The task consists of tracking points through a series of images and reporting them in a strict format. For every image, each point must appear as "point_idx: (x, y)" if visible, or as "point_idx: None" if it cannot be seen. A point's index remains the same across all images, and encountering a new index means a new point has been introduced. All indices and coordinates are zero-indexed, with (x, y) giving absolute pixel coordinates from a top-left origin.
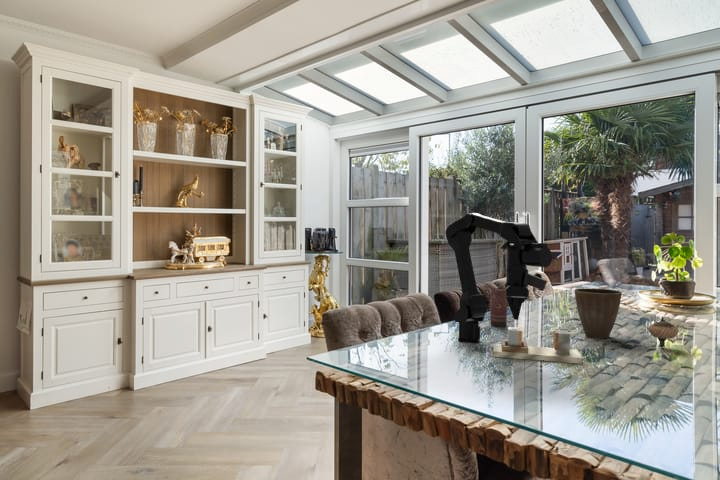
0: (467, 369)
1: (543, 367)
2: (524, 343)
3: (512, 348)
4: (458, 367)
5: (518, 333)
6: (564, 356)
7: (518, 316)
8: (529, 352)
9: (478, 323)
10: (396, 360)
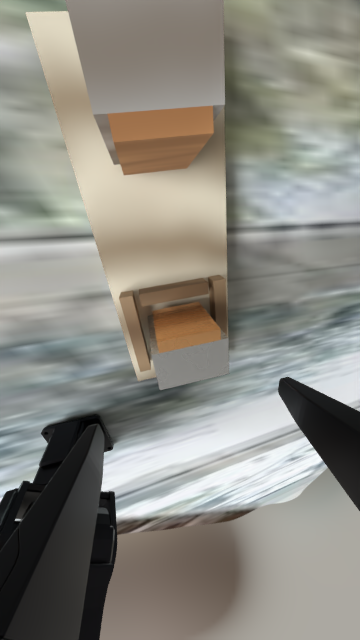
0: (328, 366)
1: (294, 219)
2: (155, 300)
3: (225, 324)
4: (317, 381)
5: (223, 334)
6: (217, 126)
7: (308, 388)
8: (203, 272)
9: (46, 477)
10: (291, 451)
